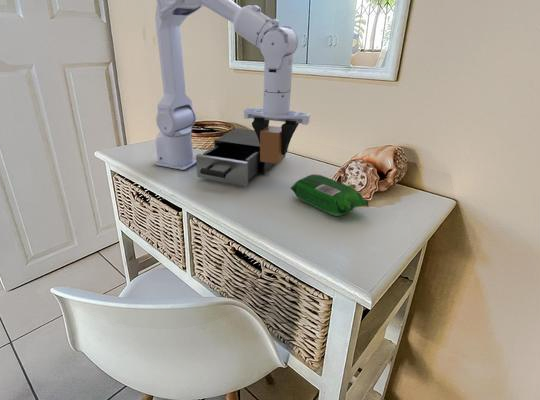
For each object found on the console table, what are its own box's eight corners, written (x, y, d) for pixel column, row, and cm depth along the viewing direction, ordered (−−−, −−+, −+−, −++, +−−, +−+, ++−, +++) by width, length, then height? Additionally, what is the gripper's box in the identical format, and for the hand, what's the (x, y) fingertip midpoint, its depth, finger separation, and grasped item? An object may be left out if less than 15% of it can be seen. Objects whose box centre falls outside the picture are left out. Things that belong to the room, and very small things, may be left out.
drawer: (238, 193, 74) (238, 169, 71) (188, 183, 79) (186, 160, 76) (265, 168, 87) (266, 147, 84) (220, 161, 92) (220, 141, 89)
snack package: (345, 227, 62) (349, 202, 60) (287, 196, 74) (288, 175, 71) (368, 216, 66) (373, 192, 64) (309, 189, 77) (311, 168, 75)
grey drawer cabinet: (264, 174, 85) (265, 147, 82) (215, 166, 91) (214, 140, 87) (281, 158, 96) (282, 133, 92) (236, 151, 102) (235, 128, 98)
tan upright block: (260, 161, 76) (260, 131, 72) (267, 154, 80) (268, 125, 76) (278, 163, 74) (279, 133, 71) (285, 156, 78) (286, 127, 75)
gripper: (315, 90, 71) (309, 151, 77) (252, 86, 76) (251, 143, 83) (307, 95, 65) (301, 160, 71) (239, 90, 71) (240, 151, 77)
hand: (274, 152), depth 77 cm, fingers closed on tan upright block, 4 cm apart
